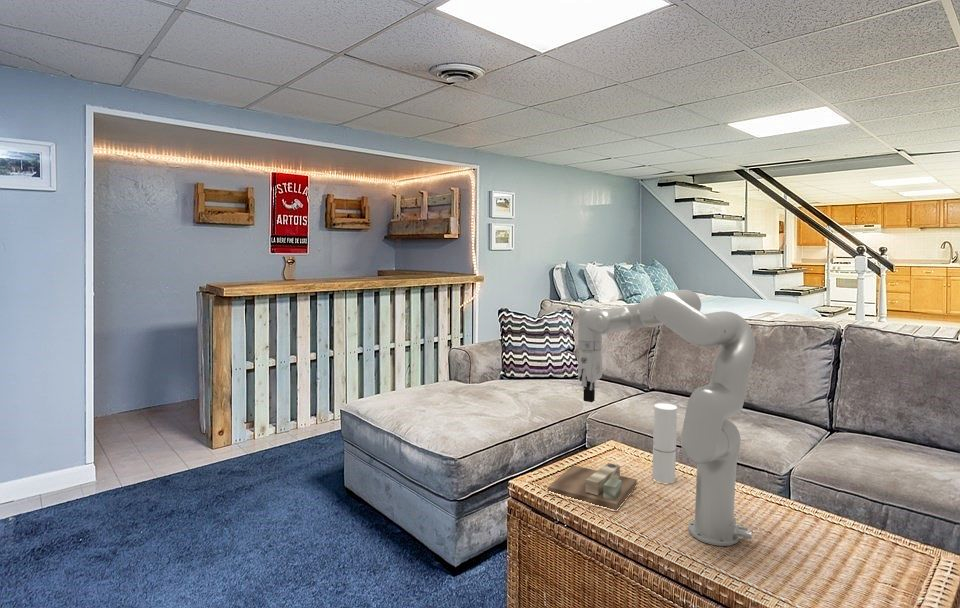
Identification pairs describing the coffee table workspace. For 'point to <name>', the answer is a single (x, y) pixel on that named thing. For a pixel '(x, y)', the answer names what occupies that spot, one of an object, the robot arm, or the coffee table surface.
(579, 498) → the brown board with blocks
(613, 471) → the folding leg
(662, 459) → the cylindrical container
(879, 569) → the coffee table surface
